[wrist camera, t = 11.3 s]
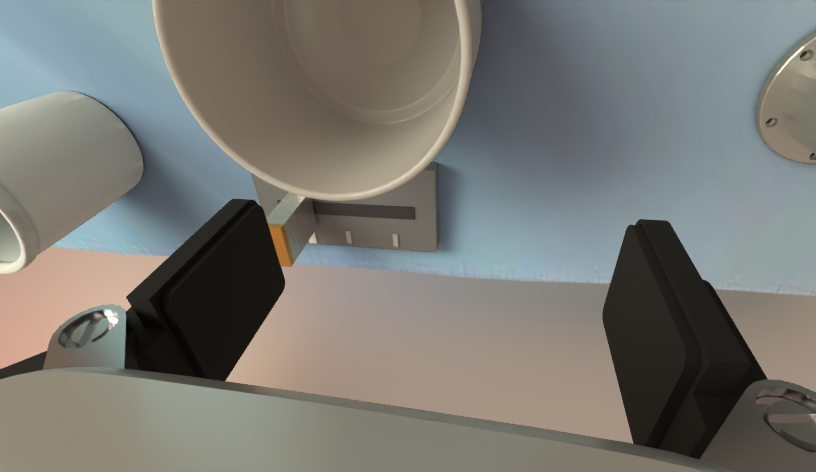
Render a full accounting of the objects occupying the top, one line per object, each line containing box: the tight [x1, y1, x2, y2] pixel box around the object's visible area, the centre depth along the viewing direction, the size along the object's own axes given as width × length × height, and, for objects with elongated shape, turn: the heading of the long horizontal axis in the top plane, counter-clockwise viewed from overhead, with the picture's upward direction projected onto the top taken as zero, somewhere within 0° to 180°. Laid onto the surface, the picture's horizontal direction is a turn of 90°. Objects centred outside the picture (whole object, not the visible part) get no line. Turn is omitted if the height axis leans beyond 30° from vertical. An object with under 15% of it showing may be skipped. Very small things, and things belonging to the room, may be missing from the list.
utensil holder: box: [0, 91, 144, 274], centre depth 46 cm, size 15×15×18 cm
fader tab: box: [266, 192, 317, 267], centre depth 47 cm, size 2×5×8 cm, turn 3°
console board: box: [251, 162, 439, 252], centre depth 50 cm, size 22×11×2 cm, turn 93°
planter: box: [152, 0, 484, 201], centre depth 31 cm, size 19×19×18 cm
